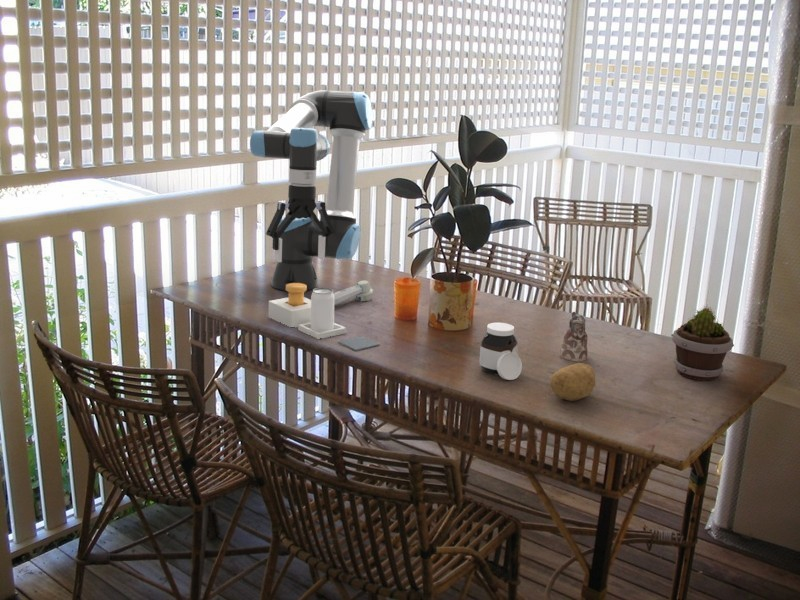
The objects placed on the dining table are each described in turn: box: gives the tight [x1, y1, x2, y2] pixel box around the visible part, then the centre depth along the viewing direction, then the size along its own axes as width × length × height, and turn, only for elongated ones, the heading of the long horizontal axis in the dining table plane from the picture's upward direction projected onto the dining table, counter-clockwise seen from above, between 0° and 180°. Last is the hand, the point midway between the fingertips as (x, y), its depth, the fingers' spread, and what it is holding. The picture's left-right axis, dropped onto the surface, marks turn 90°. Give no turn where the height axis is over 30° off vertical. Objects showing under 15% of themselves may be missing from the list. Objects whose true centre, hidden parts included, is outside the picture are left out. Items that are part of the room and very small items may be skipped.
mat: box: [337, 335, 380, 352], centre depth 239 cm, size 8×8×1 cm
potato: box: [550, 362, 596, 402], centre depth 208 cm, size 10×14×8 cm
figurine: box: [559, 311, 589, 362], centre depth 235 cm, size 7×7×12 cm
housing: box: [268, 296, 347, 340], centre depth 252 cm, size 11×24×5 cm, turn 41°
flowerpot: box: [670, 304, 735, 381], centre depth 225 cm, size 14×15×20 cm
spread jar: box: [479, 322, 523, 381], centre depth 221 cm, size 12×11×12 cm
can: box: [310, 287, 335, 333], centre depth 246 cm, size 6×6×12 cm
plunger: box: [286, 283, 308, 306], centre depth 255 cm, size 6×6×8 cm
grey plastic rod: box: [333, 280, 374, 307], centre depth 272 cm, size 5×7×25 cm
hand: (300, 260), depth 248 cm, fingers open, 13 cm apart
